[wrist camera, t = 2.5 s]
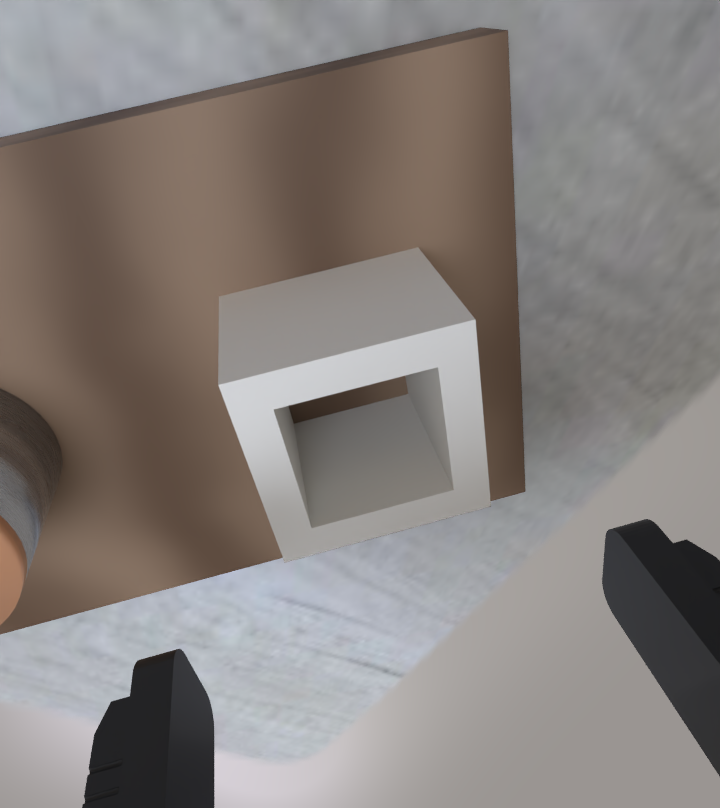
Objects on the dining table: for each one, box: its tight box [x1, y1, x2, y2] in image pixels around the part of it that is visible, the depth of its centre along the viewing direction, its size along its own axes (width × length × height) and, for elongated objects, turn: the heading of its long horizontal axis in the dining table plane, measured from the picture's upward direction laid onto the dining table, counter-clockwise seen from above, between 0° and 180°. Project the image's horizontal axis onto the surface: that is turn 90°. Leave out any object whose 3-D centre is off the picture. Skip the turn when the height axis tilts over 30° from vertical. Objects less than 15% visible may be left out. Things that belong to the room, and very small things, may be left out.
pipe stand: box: [0, 28, 525, 634], centre depth 16 cm, size 24×16×12 cm, turn 101°
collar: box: [218, 247, 491, 562], centre depth 18 cm, size 6×6×5 cm
